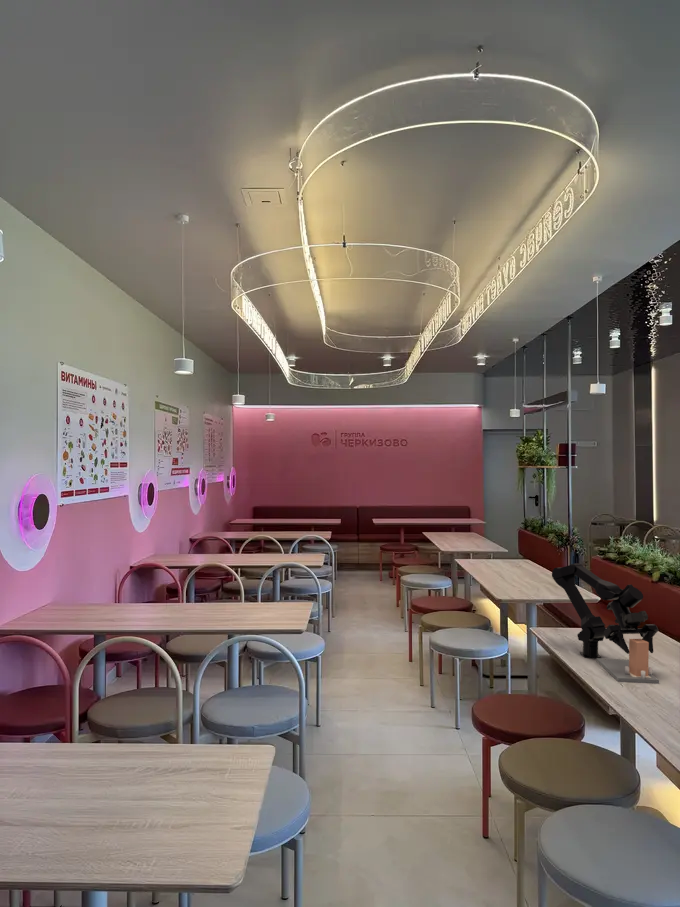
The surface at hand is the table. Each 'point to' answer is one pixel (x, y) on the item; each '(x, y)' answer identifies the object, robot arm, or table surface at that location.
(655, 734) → the table surface
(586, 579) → the robot arm
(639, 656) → the terracotta block
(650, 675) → the base plate
